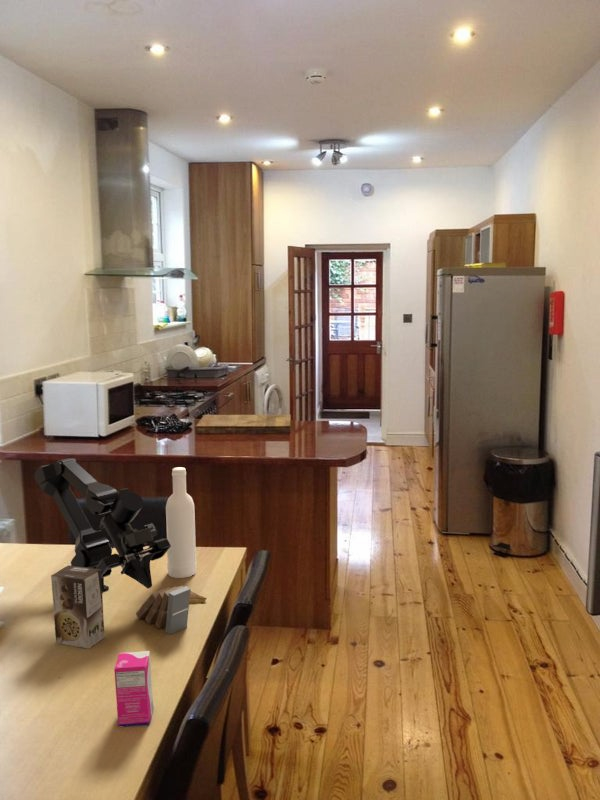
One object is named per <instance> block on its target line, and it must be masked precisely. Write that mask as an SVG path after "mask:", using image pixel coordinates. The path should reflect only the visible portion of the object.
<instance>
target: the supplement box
mask: <svg viewBox="0 0 600 800" xmlns="http://www.w3.org/2000/svg"><path fill="white" fill-rule="evenodd" d="M151 666H152V665H151V652H150V650H144V651H143V650H142V651H133V652H131V651H130V652H119V654H118V656H117V659H116V662H115V666H114V669H113V671H114V683H115V696H116V710H117V711H116V713H117V724H118V725H117V726H118V727H119V726H124V727H136V726H135V725H140V726H149V725H151V721H152V716H153V714H154V713H153V712H154V698H153V683H152V682H153V681H152V669H151V668H152V667H151Z"/></svg>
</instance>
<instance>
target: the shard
mask: <svg viewBox="0 0 600 800" xmlns="http://www.w3.org/2000/svg"><path fill="white" fill-rule="evenodd" d="M207 599H208V598H207V597H204V596H202V595H199V594H197V593H196V592H195V591H191V590H190V600H189V604H190V603H197V604H198V603H204V602H206V600H207Z"/></svg>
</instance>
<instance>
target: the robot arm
mask: <svg viewBox="0 0 600 800" xmlns="http://www.w3.org/2000/svg"><path fill="white" fill-rule="evenodd" d="M34 480H35V482H36V483H37V485H38V486H39V488H40V489H41V490H42V491H43V492H44V493H45V494H47V495H49V496H51V498H53V499H54V501H55V504H56V505H57V507H58V508H59V509H58V510H59V511H60V513H61V515H62V516H63V518H64V520H65V523H66V524H67V526H68V528H69V531H71V533H72V536H73V537H74V539H75V545H74V554H75V555H74V556H73V558H72V560H71V561H70V566H78V567H87V568H95V569H101V580H102V592H105V591H107V590H109V589H110V587H109V586H108V585H106V584H105V578H106V577H109V576H110V575H111V574H112V569H114V568H115V569H116V568H117V567H121V569H122V570H121V571H120V574H121V575H126V576H127V577H129V578H131V579H133V580H135V581H136V582H138V583H139V584H141V585H142V586H143V587H145V588H146V589H151V588H152V587H153V581H152V580H153V579H152V575H151V574H152V572H151V561H152V562H153V561H156V560H159V559H161V558H162V557H164V556H165V554H167V551H168V549H169V548H170V547H171V544H170V543H169V541H168V540H167V538H164V537H163V538H160V539H157V540H154V537H156V536H157V535H158V530H157V527H156V526H155V525H154V523H152V522H151V523H149V524H146V525H144V526H143V529H141V530H138V528H136V527H134V528H133V527H132V525H131V524H130V523H132V521H134V519H135V518H136V516H137V515H138V514H139V512H140V511H141V509H142V508H143V506H144V501H143V498H142V496H140V495H139V494H137V493H136V492H133V491H130V489H129V488H128V487H127V488H126V487H125V488H122V489H120V490H119V491H117V489H116V488H114V487H113V486H110V485H109V484H105V483H100V482H98V481H97V479H95V478H94V477H93V476H92V475H91V474H90V473H88V472H87V471H86V470H85V469H84V468H83V467H82V466H81V465H80V464H79V463H78V461H77V459H76V458H74V457H69V458H64V459H58V460H57V461H55V462H53V463H50V464H46V465H41V466H39V467H38V468H37V469H36V471H35V472H34ZM70 485H71V486H73V488H74V489H76V490H77V491H78V492H79V493H80V494H81V495H82V496H83V498H84V499H85V500H84V503H85V507H86V508H87V509H88V510H89V512H90V513H91V514H93V515H94V516H99V515H103V514H105V515H104V517H101V518H100V523H99V529H100V530H99V529H98V530H95V529H93V527H92V526H91V523H90V522H89V519H88V518H87V516H86V514H85V513H84V511H83V509H82V507H81V506H80V503H79V501H78V499H77V498H76V496H75V494H74V493H73V491H72V489H71V487H70ZM102 529H105V531H106V533H107V535H108V537H109V539H110V540H108V538H107V535H106V534H105V532H104V531H103V530H102ZM110 541H111V544H110ZM147 542H151V544H150V545H149V546H148V547H147V548H146V546H147V545H148V543H147ZM144 548H145V549H144ZM113 549H115V550H116V552H117V553H113Z"/></svg>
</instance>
